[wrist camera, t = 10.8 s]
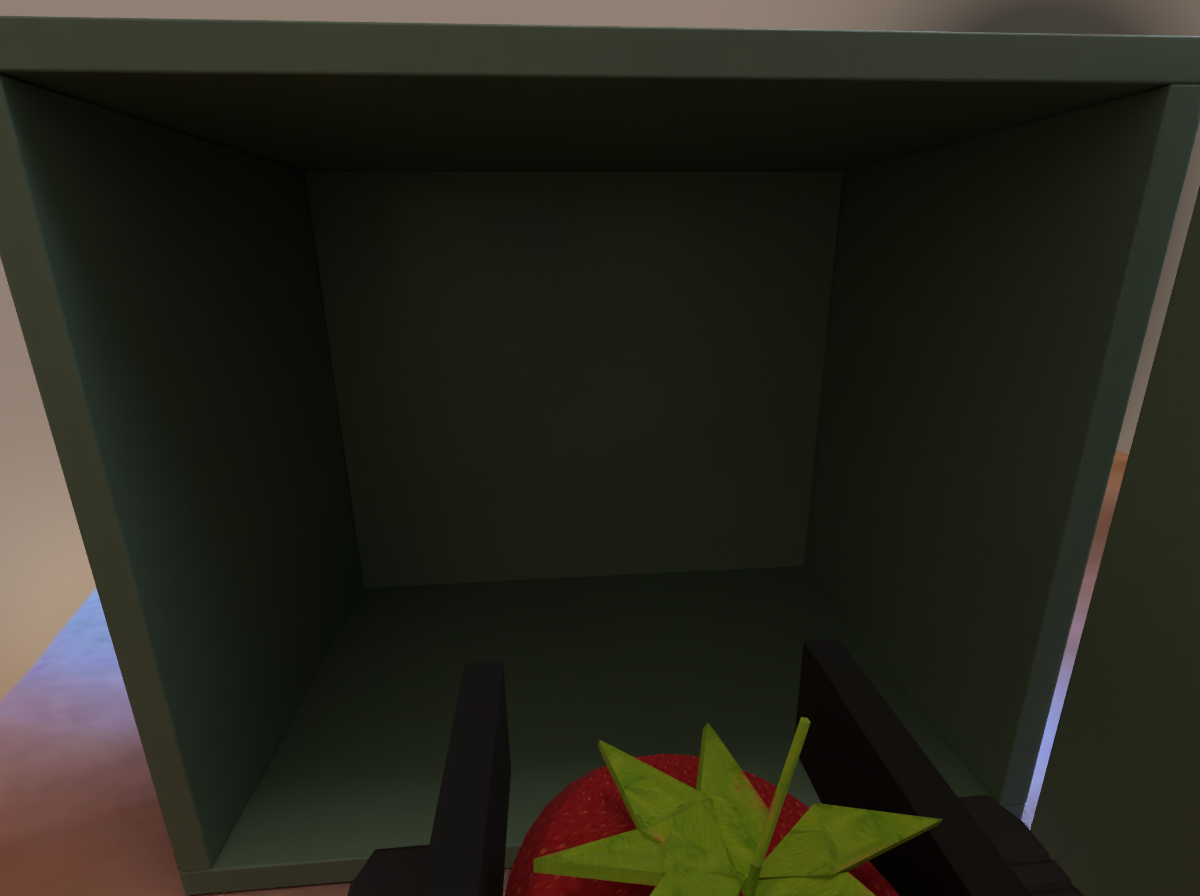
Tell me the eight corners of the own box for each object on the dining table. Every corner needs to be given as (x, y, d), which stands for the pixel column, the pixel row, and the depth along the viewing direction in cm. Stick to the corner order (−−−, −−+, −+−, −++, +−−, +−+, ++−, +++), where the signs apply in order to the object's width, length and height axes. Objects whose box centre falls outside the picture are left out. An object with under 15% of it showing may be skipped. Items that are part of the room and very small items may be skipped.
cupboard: (1020, 825, 22) (1223, 35, 14) (184, 896, 20) (-73, 13, 12) (812, 572, 39) (856, 151, 32) (352, 596, 37) (286, 150, 29)
